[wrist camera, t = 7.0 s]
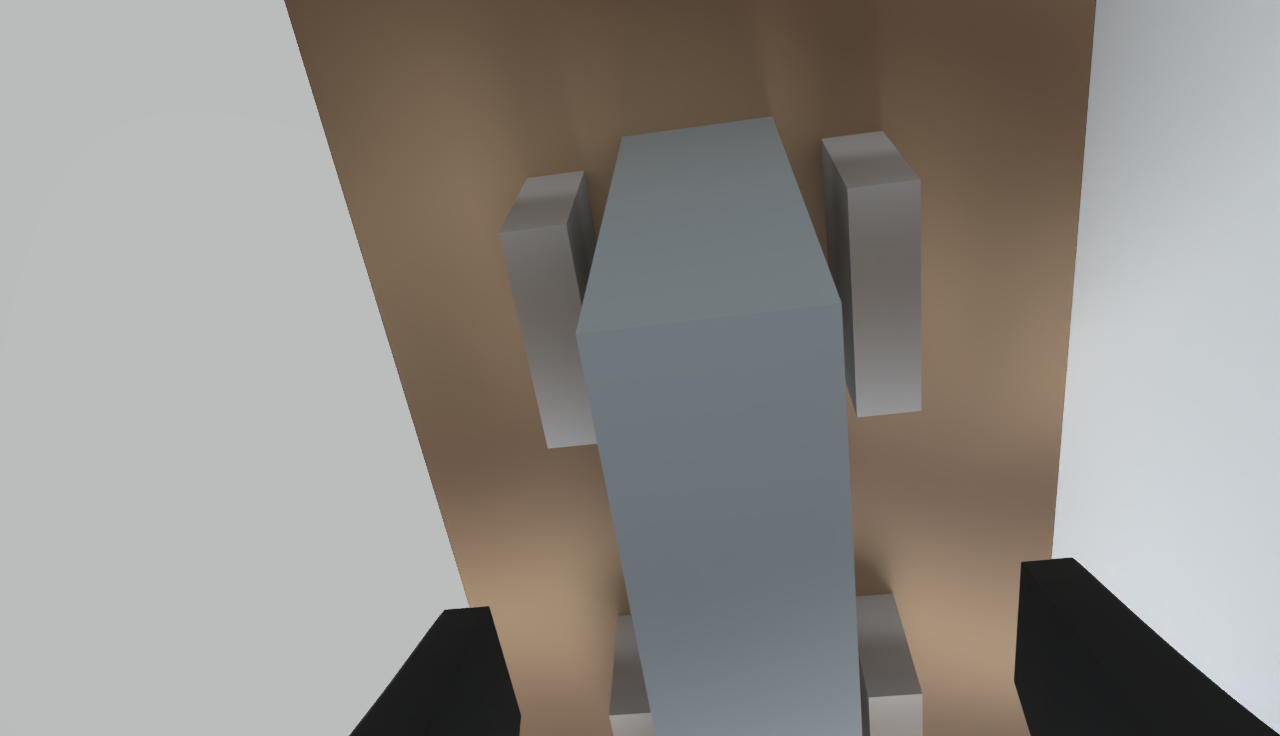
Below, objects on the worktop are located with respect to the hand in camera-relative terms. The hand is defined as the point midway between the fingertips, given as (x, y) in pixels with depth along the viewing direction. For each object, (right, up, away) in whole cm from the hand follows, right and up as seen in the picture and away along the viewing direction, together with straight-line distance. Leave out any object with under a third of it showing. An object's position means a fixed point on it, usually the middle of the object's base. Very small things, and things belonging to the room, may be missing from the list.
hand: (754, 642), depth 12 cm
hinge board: (0, +2, +4) cm, 4 cm away
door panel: (0, +2, +3) cm, 3 cm away
